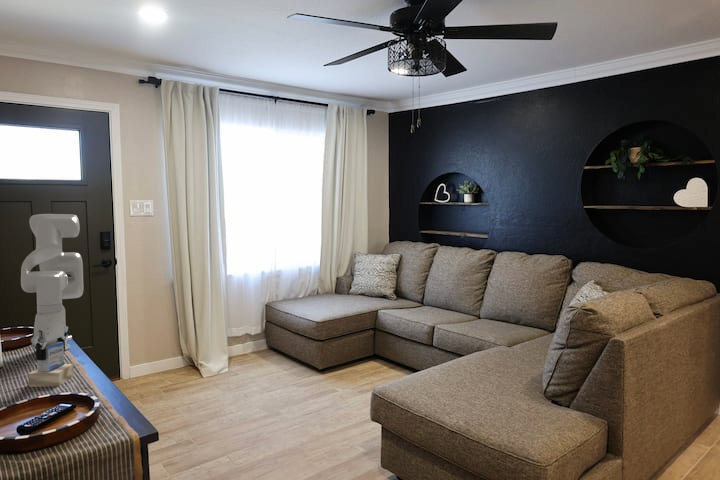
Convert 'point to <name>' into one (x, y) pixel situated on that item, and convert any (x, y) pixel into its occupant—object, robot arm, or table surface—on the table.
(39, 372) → the wooden block
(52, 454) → the table surface
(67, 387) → the table surface
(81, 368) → the table surface
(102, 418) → the table surface
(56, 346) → the medicine box
